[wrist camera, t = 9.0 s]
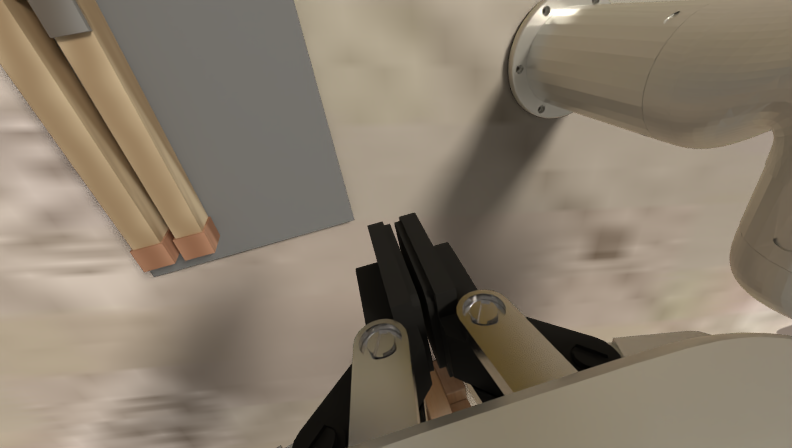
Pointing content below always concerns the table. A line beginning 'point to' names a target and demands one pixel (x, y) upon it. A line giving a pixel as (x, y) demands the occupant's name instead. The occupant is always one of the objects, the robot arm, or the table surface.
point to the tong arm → (129, 118)
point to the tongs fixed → (82, 133)
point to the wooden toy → (444, 394)
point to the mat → (236, 114)
